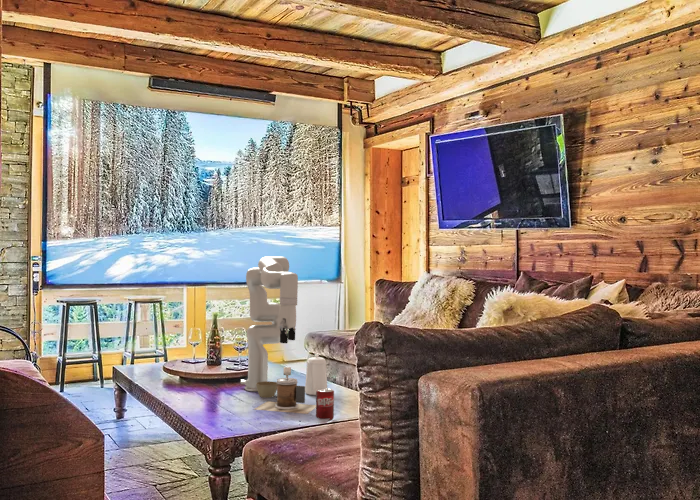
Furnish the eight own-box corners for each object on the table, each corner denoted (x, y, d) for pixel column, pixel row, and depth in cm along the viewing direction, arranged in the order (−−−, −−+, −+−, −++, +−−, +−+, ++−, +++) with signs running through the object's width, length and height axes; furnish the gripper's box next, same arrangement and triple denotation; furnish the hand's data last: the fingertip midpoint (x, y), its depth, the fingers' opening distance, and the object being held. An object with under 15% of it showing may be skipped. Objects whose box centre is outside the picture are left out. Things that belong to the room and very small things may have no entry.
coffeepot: (297, 398, 307) (298, 357, 307) (311, 387, 332) (312, 350, 332) (320, 399, 305) (321, 359, 305) (332, 389, 329) (333, 351, 329)
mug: (271, 409, 280) (271, 383, 280) (279, 403, 290) (280, 379, 290) (300, 411, 277) (301, 385, 277) (307, 406, 287) (308, 380, 287)
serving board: (253, 412, 279) (253, 409, 279) (267, 403, 294) (267, 401, 294) (307, 416, 273) (307, 413, 273) (318, 408, 289) (318, 405, 289)
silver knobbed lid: (274, 382, 281) (274, 368, 281) (281, 379, 289) (281, 365, 289) (293, 384, 279) (293, 369, 279) (299, 380, 287) (300, 366, 287)
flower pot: (281, 397, 308) (281, 382, 308) (271, 401, 299) (272, 386, 299) (262, 395, 312) (262, 380, 312) (252, 399, 302) (252, 384, 302)
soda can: (315, 417, 272) (316, 388, 273) (333, 417, 273) (333, 388, 273) (316, 421, 265) (316, 391, 265) (334, 421, 266) (334, 391, 266)
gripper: (287, 299, 293) (286, 338, 293) (273, 302, 277) (272, 343, 277) (303, 300, 292) (302, 339, 292) (290, 303, 275) (289, 344, 275)
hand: (287, 341), depth 284 cm, fingers open, 9 cm apart
